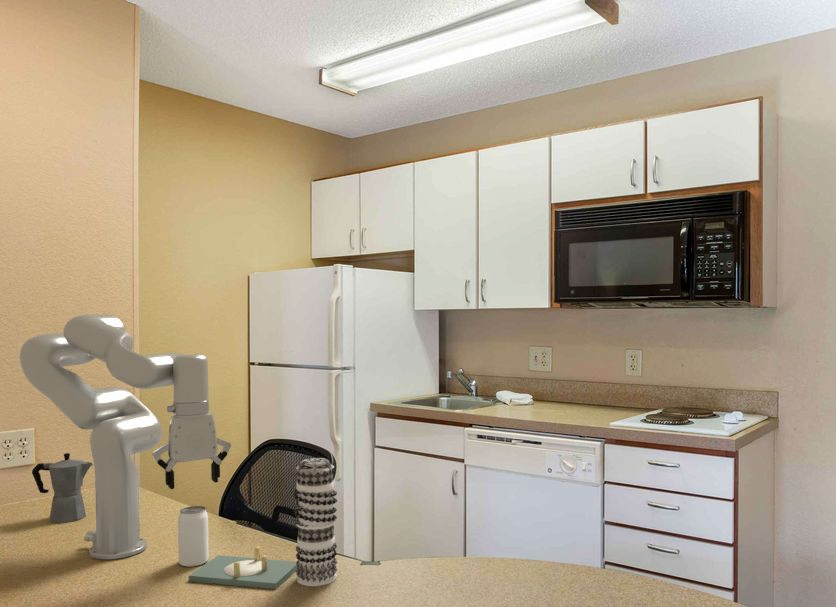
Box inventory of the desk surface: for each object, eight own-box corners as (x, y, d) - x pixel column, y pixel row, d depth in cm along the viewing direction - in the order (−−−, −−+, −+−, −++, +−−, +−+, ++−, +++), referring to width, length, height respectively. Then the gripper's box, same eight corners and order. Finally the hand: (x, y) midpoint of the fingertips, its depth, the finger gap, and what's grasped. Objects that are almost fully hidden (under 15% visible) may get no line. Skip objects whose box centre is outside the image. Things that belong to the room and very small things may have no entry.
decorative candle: (286, 584, 144) (284, 463, 144) (308, 567, 153) (306, 454, 153) (325, 589, 141) (323, 466, 141) (345, 572, 150) (343, 456, 150)
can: (199, 568, 153) (198, 514, 153) (173, 566, 155) (172, 513, 155) (213, 557, 160) (213, 505, 160) (188, 556, 161) (187, 504, 161)
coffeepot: (97, 511, 198) (96, 448, 198) (89, 521, 189) (88, 455, 189) (38, 515, 194) (37, 451, 194) (27, 526, 185) (26, 458, 185)
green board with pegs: (188, 581, 146) (188, 561, 146) (218, 560, 158) (218, 542, 158) (275, 589, 141) (275, 568, 141) (299, 567, 153) (299, 548, 153)
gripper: (154, 415, 149) (156, 494, 149) (234, 407, 158) (236, 482, 158) (148, 410, 156) (150, 487, 156) (225, 403, 165) (226, 475, 165)
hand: (193, 484), depth 157 cm, fingers open, 9 cm apart
